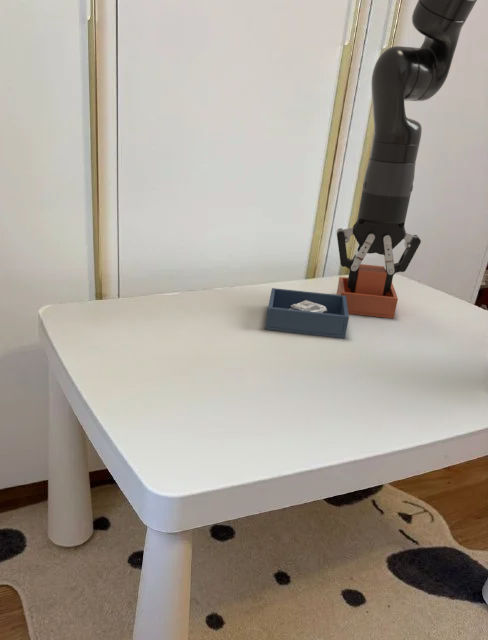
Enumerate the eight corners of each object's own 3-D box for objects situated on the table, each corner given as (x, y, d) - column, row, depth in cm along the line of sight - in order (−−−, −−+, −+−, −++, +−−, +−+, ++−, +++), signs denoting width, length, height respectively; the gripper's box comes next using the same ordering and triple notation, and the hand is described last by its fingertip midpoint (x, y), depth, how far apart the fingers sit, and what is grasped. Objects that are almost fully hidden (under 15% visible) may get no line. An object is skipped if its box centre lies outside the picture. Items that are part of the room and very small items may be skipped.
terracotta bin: (388, 300, 114) (392, 281, 112) (393, 318, 106) (398, 298, 104) (336, 295, 115) (339, 276, 113) (337, 312, 107) (341, 292, 105)
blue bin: (342, 315, 106) (345, 295, 104) (345, 338, 97) (348, 317, 95) (269, 307, 107) (271, 287, 106) (265, 329, 98) (268, 308, 97)
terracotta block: (379, 291, 111) (384, 266, 109) (381, 299, 107) (386, 273, 105) (353, 288, 111) (357, 263, 109) (354, 296, 108) (359, 271, 105)
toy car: (330, 317, 103) (333, 299, 102) (300, 328, 98) (303, 309, 97) (312, 310, 106) (315, 293, 104) (282, 321, 101) (284, 303, 99)
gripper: (429, 189, 103) (407, 290, 111) (340, 182, 105) (325, 282, 113) (437, 198, 97) (412, 304, 105) (342, 190, 99) (325, 295, 107)
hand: (367, 292), depth 109 cm, fingers closed on terracotta block, 4 cm apart
